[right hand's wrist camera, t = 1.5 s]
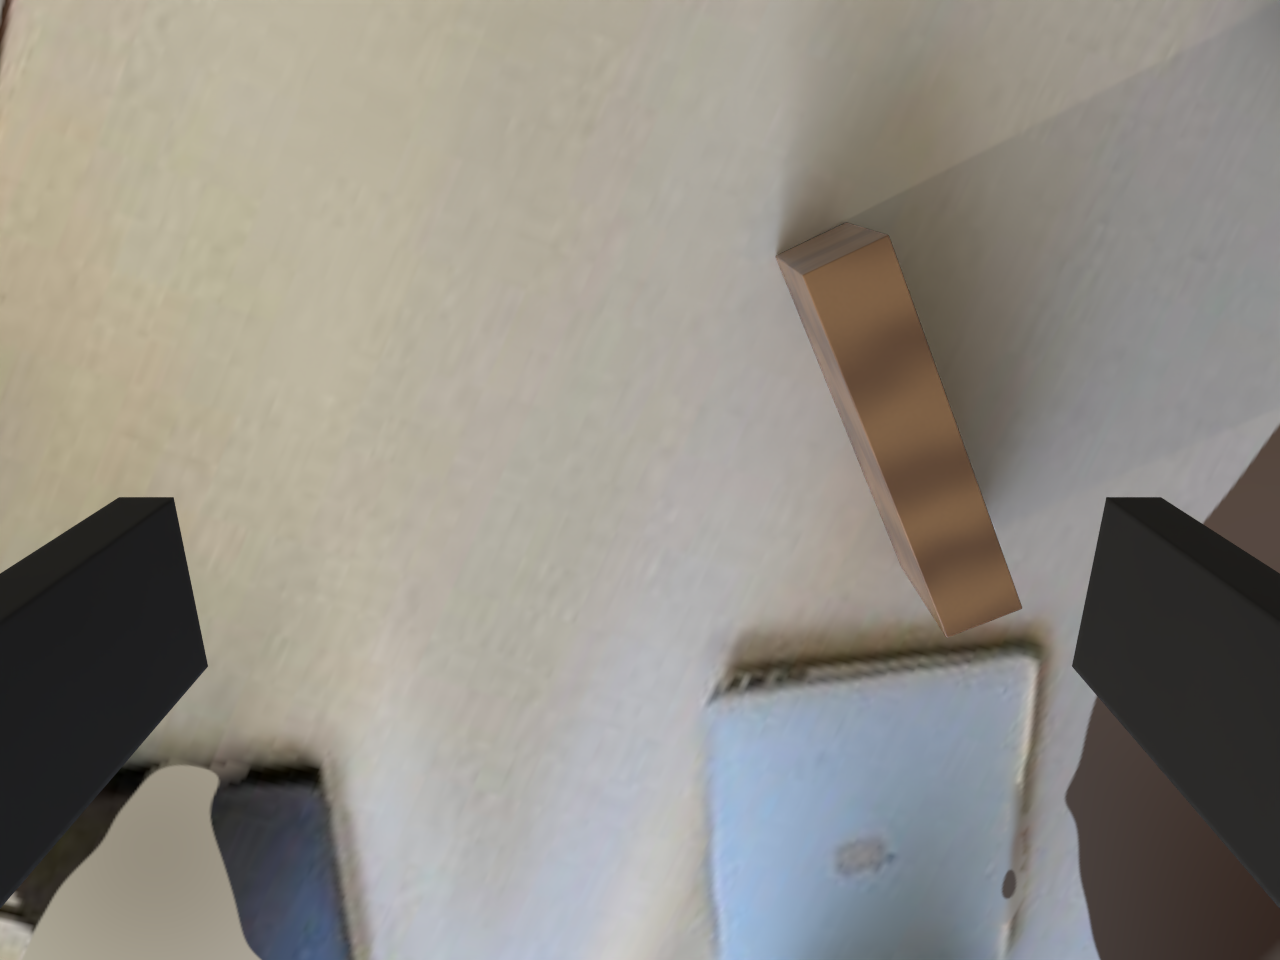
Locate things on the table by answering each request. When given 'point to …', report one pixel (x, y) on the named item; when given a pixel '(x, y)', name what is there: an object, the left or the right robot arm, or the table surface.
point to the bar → (900, 422)
